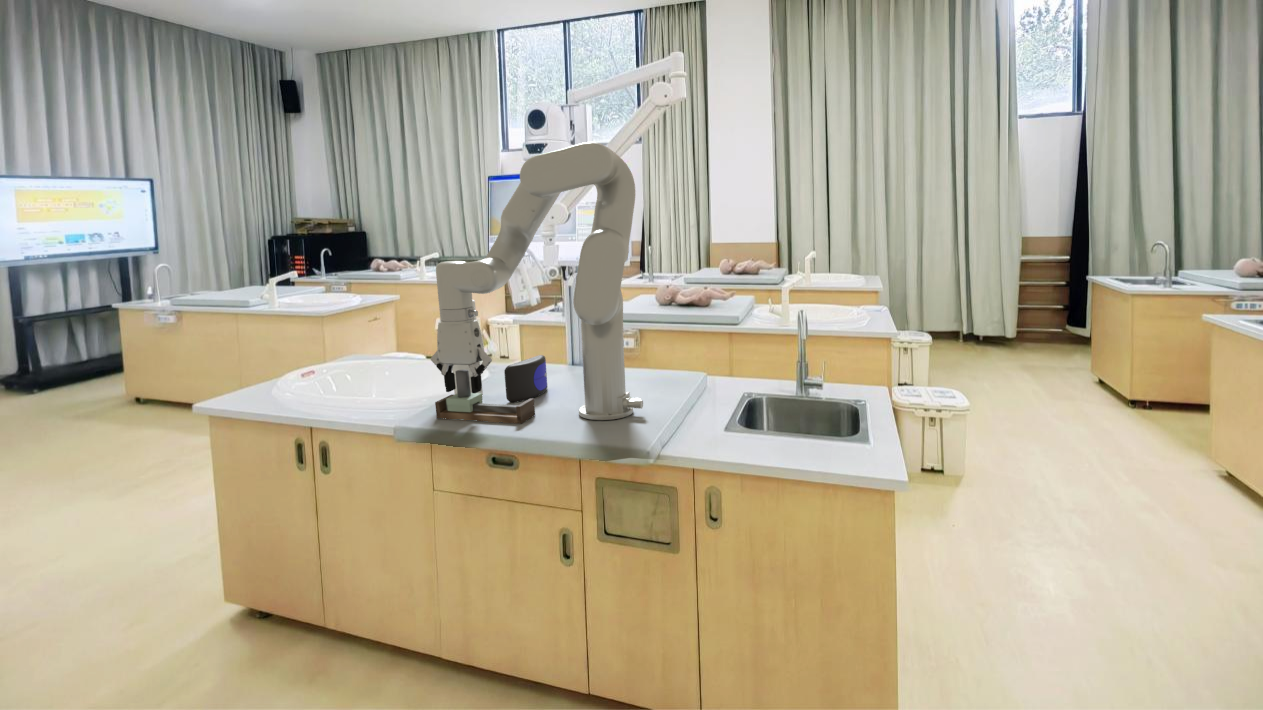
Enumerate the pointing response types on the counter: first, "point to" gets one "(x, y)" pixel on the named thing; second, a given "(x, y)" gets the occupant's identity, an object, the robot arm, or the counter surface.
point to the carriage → (463, 394)
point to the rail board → (489, 412)
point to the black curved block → (526, 379)
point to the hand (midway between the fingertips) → (463, 390)
